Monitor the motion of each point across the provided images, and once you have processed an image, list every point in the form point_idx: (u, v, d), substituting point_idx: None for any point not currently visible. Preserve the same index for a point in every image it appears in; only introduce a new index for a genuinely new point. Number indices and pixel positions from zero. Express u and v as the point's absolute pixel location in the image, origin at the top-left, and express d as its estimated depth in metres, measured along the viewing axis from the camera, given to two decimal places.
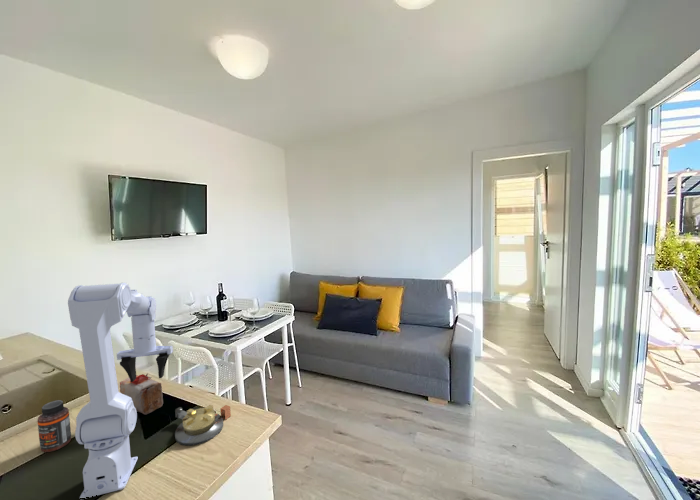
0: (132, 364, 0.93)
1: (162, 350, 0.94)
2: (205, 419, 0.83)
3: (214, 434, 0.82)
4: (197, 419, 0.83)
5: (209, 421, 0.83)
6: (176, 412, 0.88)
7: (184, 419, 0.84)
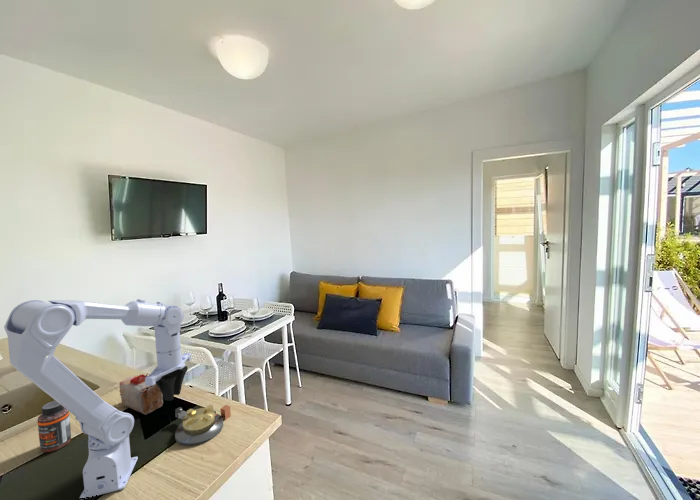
0: None
1: None
2: (205, 419, 0.83)
3: (214, 434, 0.82)
4: (197, 419, 0.83)
5: (209, 421, 0.83)
6: (176, 412, 0.88)
7: (184, 419, 0.84)
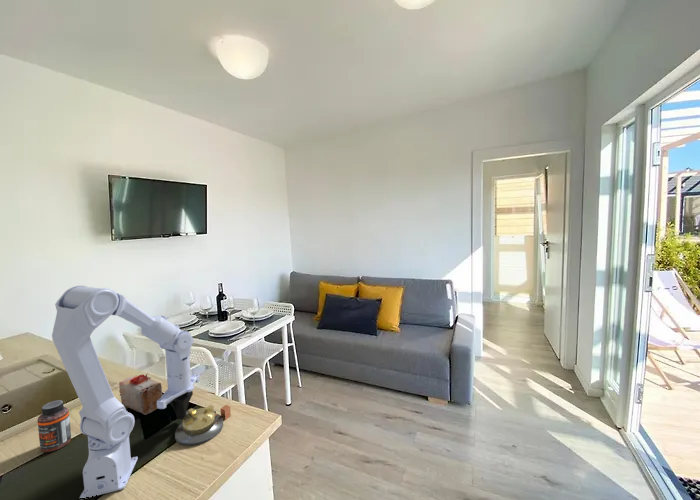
0: (179, 401, 0.86)
1: None
2: (204, 419, 0.83)
3: (214, 434, 0.82)
4: (197, 419, 0.83)
5: (208, 421, 0.83)
6: None
7: (184, 419, 0.84)
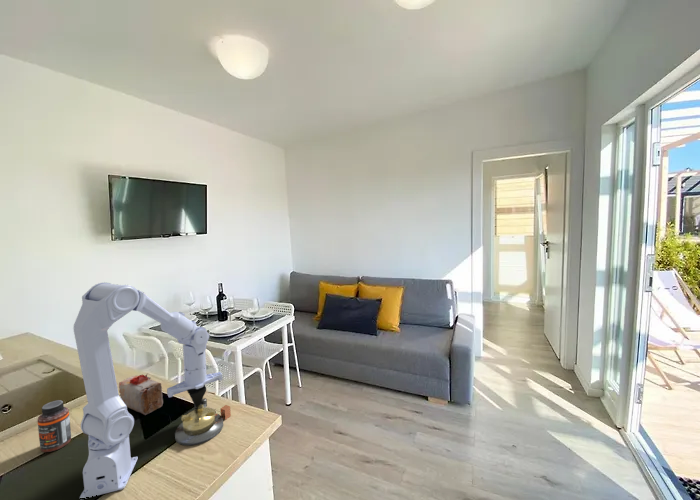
0: None
1: None
2: None
3: (214, 434, 0.82)
4: (193, 419, 0.84)
5: (197, 426, 0.81)
6: None
7: (189, 413, 0.86)
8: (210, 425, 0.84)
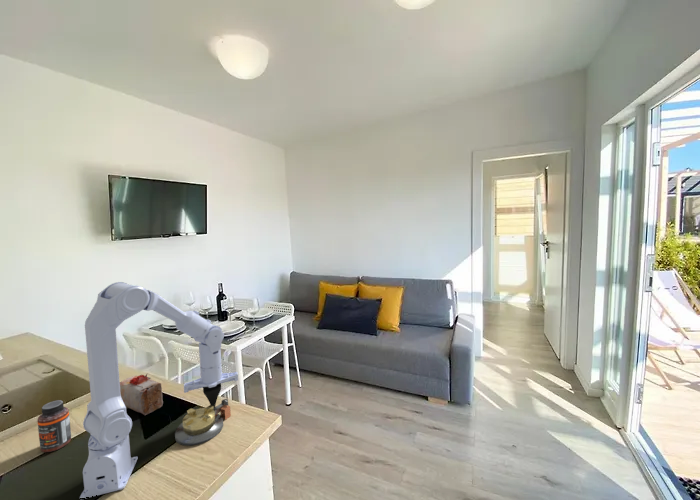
0: None
1: None
2: None
3: (214, 434, 0.82)
4: (193, 416, 0.85)
5: (185, 426, 0.81)
6: None
7: (200, 408, 0.88)
8: (198, 431, 0.81)
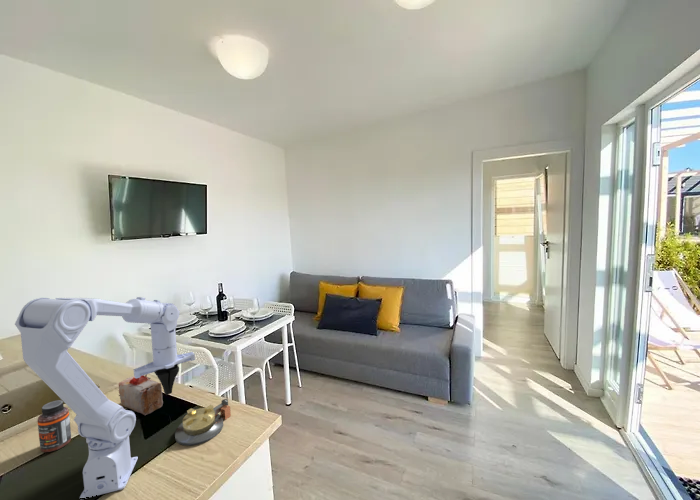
0: None
1: None
2: None
3: (214, 434, 0.82)
4: (193, 416, 0.85)
5: (185, 426, 0.81)
6: None
7: (200, 408, 0.88)
8: (198, 431, 0.81)
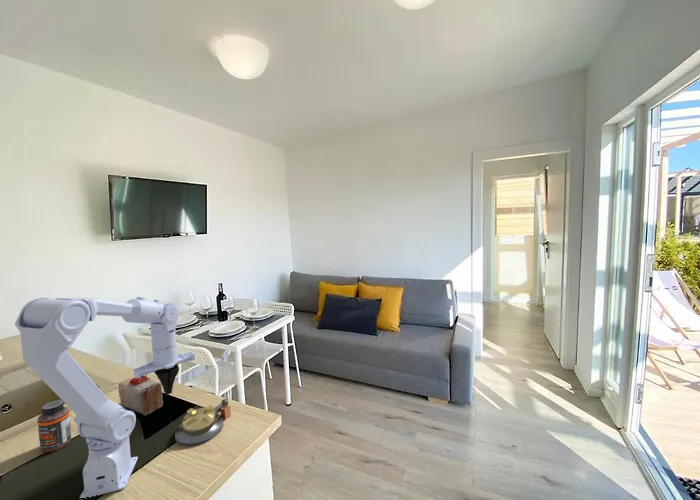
0: None
1: None
2: None
3: (214, 434, 0.82)
4: (193, 416, 0.85)
5: (185, 426, 0.81)
6: None
7: (200, 408, 0.88)
8: (198, 431, 0.81)
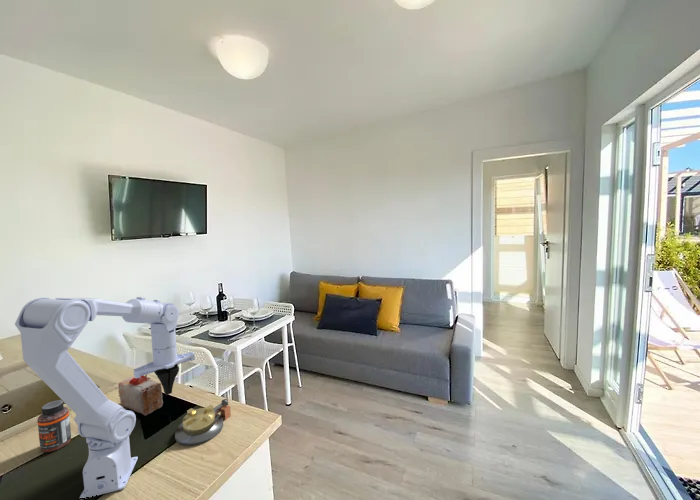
0: None
1: None
2: None
3: (214, 434, 0.82)
4: (193, 416, 0.85)
5: (185, 426, 0.81)
6: None
7: (200, 408, 0.88)
8: (198, 431, 0.81)
